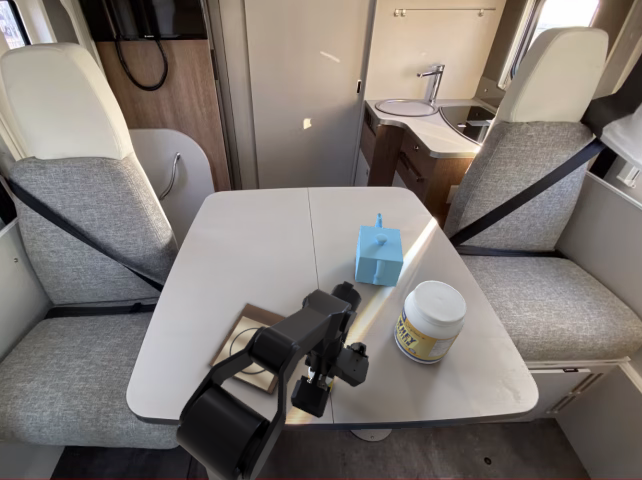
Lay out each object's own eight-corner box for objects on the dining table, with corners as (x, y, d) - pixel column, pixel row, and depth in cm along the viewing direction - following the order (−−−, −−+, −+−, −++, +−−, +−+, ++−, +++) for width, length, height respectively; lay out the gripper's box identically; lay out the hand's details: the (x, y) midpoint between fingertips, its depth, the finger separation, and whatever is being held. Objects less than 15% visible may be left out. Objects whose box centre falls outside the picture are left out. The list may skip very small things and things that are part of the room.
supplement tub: (384, 324, 79) (398, 282, 68) (427, 314, 81) (447, 271, 70) (409, 371, 70) (430, 331, 59) (457, 359, 72) (485, 318, 61)
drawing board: (271, 394, 67) (271, 392, 66) (209, 366, 72) (208, 363, 71) (301, 325, 79) (301, 322, 78) (247, 305, 84) (246, 302, 83)
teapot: (395, 298, 85) (406, 264, 76) (354, 293, 86) (360, 259, 78) (390, 243, 101) (399, 210, 92) (356, 239, 103) (361, 207, 94)
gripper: (355, 414, 47) (345, 445, 57) (378, 316, 60) (367, 355, 70) (288, 385, 51) (290, 418, 61) (324, 298, 64) (320, 337, 74)
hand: (320, 380), depth 66 cm, fingers closed on supplement bottle, 5 cm apart
